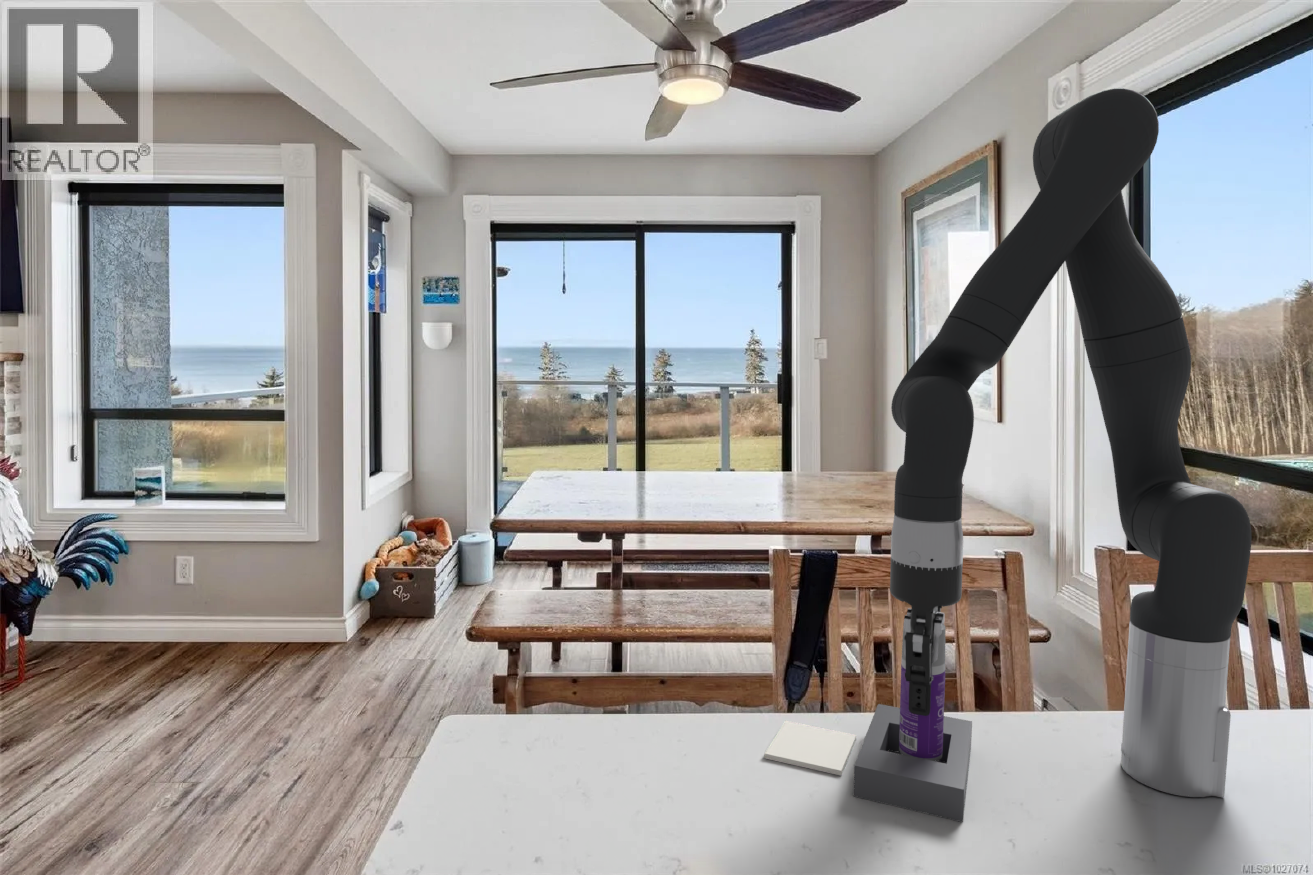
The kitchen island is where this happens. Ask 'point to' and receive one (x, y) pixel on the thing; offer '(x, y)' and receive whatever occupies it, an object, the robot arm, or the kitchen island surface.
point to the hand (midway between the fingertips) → (922, 702)
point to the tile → (811, 747)
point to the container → (917, 730)
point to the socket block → (914, 768)
